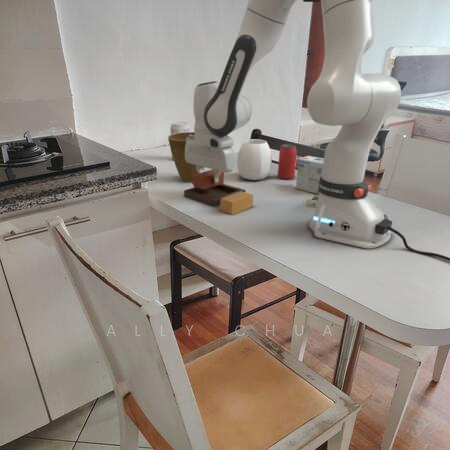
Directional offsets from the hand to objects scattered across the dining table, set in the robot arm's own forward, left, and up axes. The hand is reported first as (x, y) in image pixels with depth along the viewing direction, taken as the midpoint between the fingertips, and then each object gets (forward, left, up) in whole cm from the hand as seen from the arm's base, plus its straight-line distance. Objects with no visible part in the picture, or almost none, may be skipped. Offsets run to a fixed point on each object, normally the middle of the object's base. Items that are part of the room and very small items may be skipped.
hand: (208, 180), depth 141 cm
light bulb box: (-23, -30, -5) cm, 38 cm away
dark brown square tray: (-3, 0, -5) cm, 6 cm away
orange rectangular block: (-16, +4, -5) cm, 18 cm away
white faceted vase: (+2, -27, -5) cm, 27 cm away
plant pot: (+18, -8, -5) cm, 20 cm away
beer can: (-7, -36, -5) cm, 37 cm away
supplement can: (+44, -27, -5) cm, 51 cm away
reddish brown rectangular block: (0, 0, -2) cm, 2 cm away
